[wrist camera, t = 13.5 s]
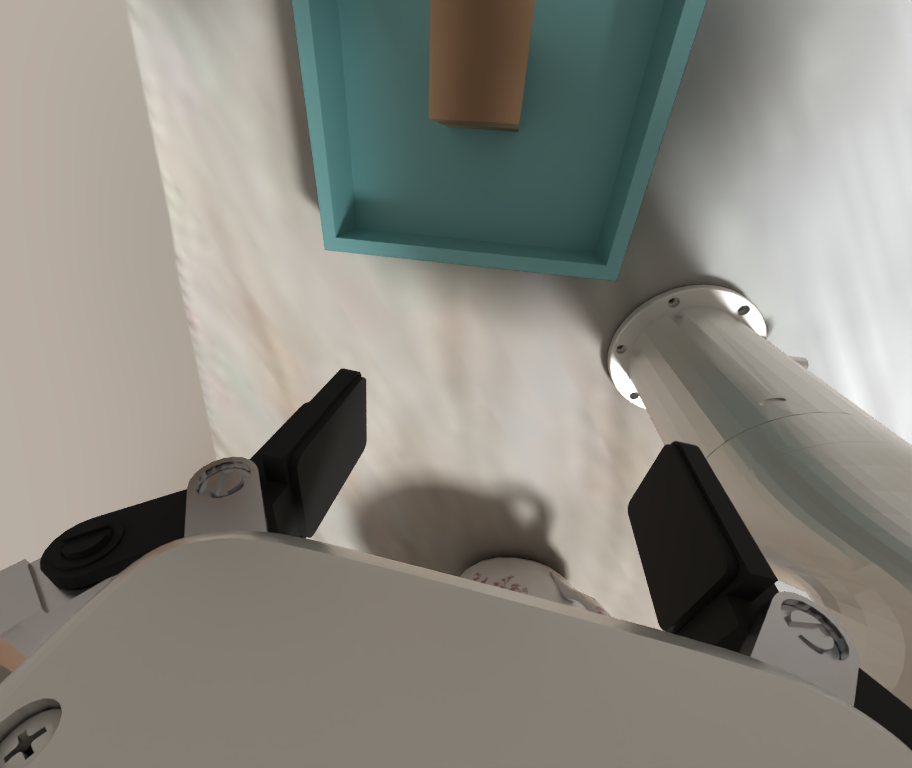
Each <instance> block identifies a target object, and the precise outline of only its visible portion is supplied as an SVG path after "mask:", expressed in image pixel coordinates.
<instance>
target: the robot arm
mask: <svg viewBox="0 0 912 768" xmlns="http://www.w3.org/2000/svg"><path fill="white" fill-rule="evenodd" d="M672 298H673V300H672V301H670V299H672ZM669 301H670V302H669ZM620 345H621V346H620ZM618 346H620V347H618ZM607 362H608V371H609V374H610V377H611V380H612V382H613V384H614V386H615V388H616V389H617V390H618V392H619V393H620V394H621V395H622V396H623V397H624V398H625V399H626V400H628V401H629V402H631V403H633V404H635V405H637V406H639V407H641V408H644V409H646V410H647V412H648V414H649V416H650V418H651V420H652V422H653V424H654V426H655V428H656V429H657V431H658V433H659V435H660V437H661V439H662V441H663V443H664V445H665V446H664V447H663V449H662V450H661V452H660V453H659V455H658V457H657V458H656V460H655V462H654V463H653V465H652V466H651V468H650V470H649V471H648V473H647V474H646V476H645V478H644V479H643V481H642V482H641V484H640V486H639V487H638V489H637V490H636V492H635V494H634V495H633V497H632V499H631V500H630V502H629V505H628V515H629V519H630V522H631V526H632V529H633V533H634V537H635V540H636V544H637V548H638V551H639V555H640V558H641V562H642V566H643V569H644V573H645V576H646V580H647V584H648V587H649V591H650V594H651V598H652V602H653V605H654V609H655V613H656V616H657V620H658V623H659V626H660V627H661V629H662V630H664V631H661V630H658V629H654V628H650V627H647V626H643V625H639V624H635V623H632V622H628V621H624V620H620V619H617V618H613V617H609V616H605V615H602V614H598V613H594V612H590V611H587V610H583V609H579V608H576V607H572V606H568V605H564V604H561V603H557V602H553V601H549V600H545V599H542V598H538V597H534V596H530V595H526V594H522V593H519V592H515V591H511V590H507V589H503V588H500V587H496V586H492V585H488V584H484V583H480V582H477V581H473V580H469V579H465V578H461V577H457V576H454V575H450V574H446V573H442V572H438V571H434V570H430V569H426V568H423V567H419V566H415V565H411V564H407V563H403V562H399V561H395V560H391V559H387V558H383V557H380V556H376V555H372V554H368V553H364V552H360V551H356V550H352V549H347V548H343V547H339V546H335V545H331V544H326V543H322V542H318V541H314V540H310V539H305V538H306V537H309V538H310V537H312V536H313V535H314V533H315V532H316V530H317V528H318V527H319V525H320V523H321V522H322V520H323V518H324V517H325V515H326V513H327V511H328V510H329V508H330V506H331V505H332V503H333V501H334V500H335V498H336V496H337V495H338V493H339V491H340V490H341V488H342V486H343V485H344V483H345V481H346V480H347V478H348V476H349V474H350V473H351V471H352V469H353V468H354V466H355V464H356V463H357V461H358V459H359V458H360V456H361V454H362V453H363V451H364V449H365V446H366V440H367V434H366V379H365V378H364V377H361V373H360V372H357V371H353V370H348V369H340V370H339V371H338V372H337V373H336V374H335V376H334V377H333V378H332V379H331V380H330V381H329V382H328V383H327V384H326V385H325V386H324V387H323V388H322V389H321V390H320V391H319V392H318V393H317V394H316V396H315V397H314V398H313V399H312V400H311V401H310V402H307V403H305V404H303V405H302V406H301V407H300V408H299V409H298V410H297V411H296V412H295V413H294V414H293V415H292V416H291V417H290V418H289V419H288V420H287V422H286V423H285V424H284V425H283V426H282V427H281V428H280V429H279V430H278V431H277V432H276V433H275V434H274V435H273V436H272V437H271V438H270V439H269V440H268V441H267V442H266V443H265V444H264V445H263V446H262V447H261V448H260V449H259V450H258V451H257V453H256V454H255V455H254V456H253V457H252V458H251V459H250V460H249V459H246V458H243V457H230V458H223V459H220V460H217V461H214V462H211V463H210V464H208V465H206V466H204V467H203V468H201V469H200V470H199V471H197V472H196V473H195V474H194V476H193V477H192V478H191V479H190V481H189V484H188V487H187V489H186V490H183V491H180V492H176V493H173V494H170V495H167V496H163V497H160V498H157V499H153V500H150V501H147V502H144V503H141V504H137V505H134V506H131V507H127V508H124V509H121V510H118V511H115V512H111V513H108V514H105V515H101V516H98V517H95V518H92V519H90V520H87V521H84V522H82V523H79V524H78V525H76V526H74V527H72V528H70V529H69V530H67V531H65V532H64V533H63V534H61V535H60V536H59V537H58V538H56V539H55V540H54V541H53V542H52V543H51V544H50V545H49V547H48V548H47V549H46V550H45V551H44V553H43V555H42V557H41V558H40V559H38V560H36V561H34V562H32V563H29V562H28V561H27V560H26V559H24V560H22V561H20V562H18V563H16V564H14V565H12V566H10V567H8V568H6V569H4V570H2V571H0V768H912V445H910V444H909V443H908V442H906V441H905V440H903V439H902V438H901V437H899V436H898V435H896V434H895V433H894V432H892V431H891V430H890V429H888V428H887V427H885V426H884V425H882V424H881V423H880V422H878V421H877V420H876V419H874V418H873V417H871V416H870V415H869V414H867V413H866V412H865V411H863V410H862V409H860V408H859V407H858V406H856V405H855V404H854V403H852V402H851V401H849V400H848V399H847V398H845V397H844V396H843V395H841V394H840V393H838V392H837V391H836V390H834V389H833V388H832V387H830V386H829V385H827V384H826V383H825V382H823V381H822V380H821V379H819V378H818V377H816V376H815V375H814V374H812V373H811V372H810V371H808V370H807V368H808V361H807V360H806V359H805V358H801V357H792V356H788V355H786V354H785V353H783V352H782V351H781V350H779V349H778V348H777V347H775V346H774V345H772V344H771V343H770V342H768V341H767V330H766V324H765V321H764V318H763V315H762V314H761V312H760V311H759V310H758V308H757V307H756V305H755V304H753V303H752V302H751V301H750V300H748V299H747V298H746V297H744V296H743V295H741V294H739V293H737V292H735V291H734V290H731V289H728V288H724V287H721V286H715V285H705V284H703V285H689V286H684V287H680V288H676V289H672V290H669V291H667V292H664V293H662V294H659V295H657V296H655V297H653V298H652V299H650V300H648V301H647V302H645V303H643V304H642V305H641V306H639V307H638V308H637V309H636V310H634V311H633V312H632V313H631V314H630V315H629V316H628V317H627V318H626V319H625V320H624V321H623V323H622V324H621V325H620V327H619V328H618V330H617V331H616V333H615V334H614V336H613V339H612V341H611V344H610V346H609V351H608V357H607ZM778 580H779V581H781V582H783V583H785V584H788V585H790V586H792V587H795V588H797V589H799V590H802V591H804V592H806V593H807V594H808V595H809V597H810V598H811V601H810V600H809V599H807V598H805V597H803V596H800V595H798V594H795V593H791V592H785V591H784V592H780V593H779V591H778V589H777V588H776V586H775V584H774V583H775V582H776V581H778ZM665 631H666V632H665Z"/></svg>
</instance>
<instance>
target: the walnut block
mask: <svg viewBox="0 0 912 768" xmlns="http://www.w3.org/2000/svg"><path fill="white" fill-rule="evenodd" d="M534 6H535V0H430V62H429V119H431V120H434V121H436V122H438V123H440V124H442V125H445V126H447V127H450V128H466V129H481V130H496V131H512V132H519V124H520V116H521V108H522V100H523V92H524V85H525V77H526V69H527V61H528V53H529V46H530V38H531V30H532V22H533V14H534Z"/></svg>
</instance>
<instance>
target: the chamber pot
mask: <svg viewBox="0 0 912 768" xmlns="http://www.w3.org/2000/svg"><path fill="white" fill-rule="evenodd" d="M460 577H461V578H465V579H469V580H473V581H477V582H480V583H484V584H488V585H492V586H496V587H500V588H503V589H507V590H511V591H515V592H519V593H522V594H526V595H530V596H534V597H538V598H542V599H545V600H549V601H553V602H557V603H561V604H564V605H568V606H572V607H576V608H579V609H583V610H587V611H590V612H594V613H598V614H602V615H605V616H609V617H611V616H610V615H609V613H608V612H607V611H606V610H605V609H604V608H603V607H602V606H601V605H600V604H599V603H598V602H597V601H596V600H595V599H594V598H592V597H590V596H588V595H585V594H583V593H581V592H579V591H577V590H575V589H574V588H573V587H572V586H571V585H570V583H569V582H568V581H567V579H565V578H564V577H563V576H562V575H560V574H559V573H557V572H556V571H554V570H553V569H551V568H550V567H548V566H546V565H543V564H540V563H538V562H535V561H532V560H526V559H521V558H515V557H504V558H493V559H488V560H483V561H480V562H478V563H476V564H474V565H472V566H470V567H469V568H467V569H466V570H465V571H464V572H463V573H462V574H461V576H460Z"/></svg>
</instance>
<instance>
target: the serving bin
mask: <svg viewBox="0 0 912 768" xmlns="http://www.w3.org/2000/svg"><path fill="white" fill-rule="evenodd" d="M706 1H707V0H535V6H534V14H533V22H532V30H531V38H530V46H529V53H528V61H527V69H526V77H525V85H524V92H523V100H522V108H521V116H520V124H519V132H512V131H496V130H481V129H466V128H450V127H447V126H445V125H442V124H440V123H438V122H436V121H434V120H431V119H429V62H430V0H292V7H293V15H294V22H295V30H296V37H297V45H298V52H299V60H300V67H301V75H302V82H303V90H304V97H305V105H306V112H307V120H308V127H309V135H310V142H311V150H312V157H313V165H314V172H315V180H316V187H317V195H318V202H319V210H320V217H321V225H322V232H323V240H324V247H325V250H329V251H338V252H348V253H357V254H366V255H376V256H385V257H395V258H404V259H413V260H423V261H432V262H441V263H451V264H460V265H469V266H479V267H488V268H498V269H507V270H516V271H526V272H535V273H544V274H554V275H563V276H572V277H582V278H591V279H601V280H610V281H617V278H618V275H619V272H620V269H621V266H622V263H623V259H624V256H625V253H626V250H627V247H628V244H629V241H630V238H631V235H632V231H633V228H634V225H635V222H636V219H637V216H638V213H639V210H640V207H641V203H642V200H643V197H644V194H645V191H646V188H647V185H648V182H649V179H650V175H651V172H652V169H653V166H654V163H655V160H656V157H657V154H658V151H659V147H660V144H661V141H662V138H663V135H664V132H665V129H666V126H667V122H668V119H669V116H670V113H671V110H672V107H673V104H674V101H675V98H676V94H677V91H678V88H679V85H680V82H681V79H682V76H683V73H684V70H685V66H686V63H687V60H688V57H689V54H690V51H691V48H692V45H693V42H694V38H695V35H696V32H697V29H698V26H699V23H700V20H701V17H702V14H703V10H704V7H705V4H706Z"/></svg>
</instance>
